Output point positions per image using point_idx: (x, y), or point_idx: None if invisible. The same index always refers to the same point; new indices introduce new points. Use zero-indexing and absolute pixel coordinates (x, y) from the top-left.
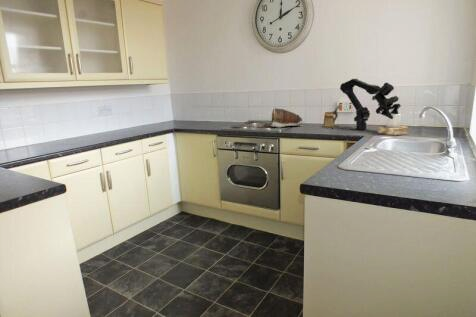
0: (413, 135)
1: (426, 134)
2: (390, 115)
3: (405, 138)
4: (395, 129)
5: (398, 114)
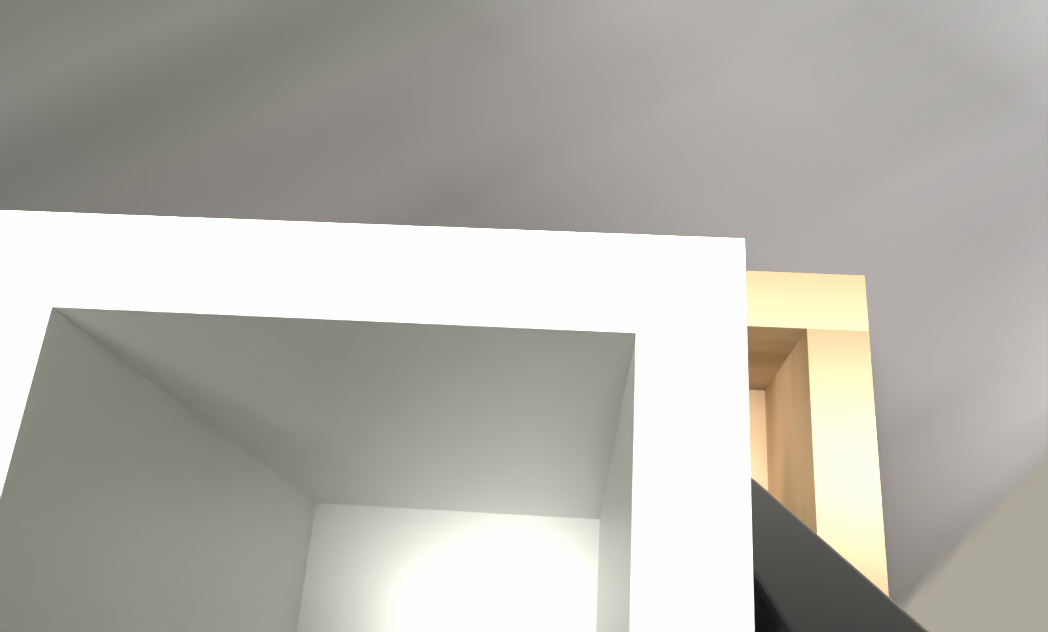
0: (357, 127)
1: (22, 22)
2: (902, 625)
3: (892, 29)
4: (860, 291)
5: (33, 391)
